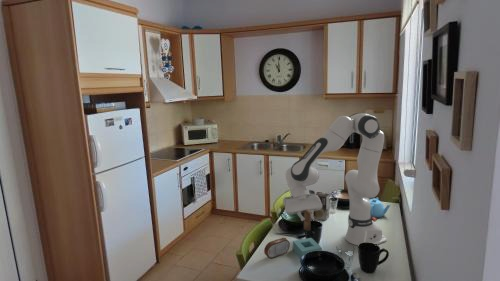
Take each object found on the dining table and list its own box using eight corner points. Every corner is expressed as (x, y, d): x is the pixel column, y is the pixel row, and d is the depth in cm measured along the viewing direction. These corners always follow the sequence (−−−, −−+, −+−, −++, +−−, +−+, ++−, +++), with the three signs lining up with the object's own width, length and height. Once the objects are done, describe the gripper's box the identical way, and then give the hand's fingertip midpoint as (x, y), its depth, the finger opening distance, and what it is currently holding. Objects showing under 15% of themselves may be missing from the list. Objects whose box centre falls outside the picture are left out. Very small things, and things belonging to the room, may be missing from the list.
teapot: (357, 210, 218) (357, 195, 216) (377, 208, 221) (377, 193, 219) (369, 219, 203) (370, 204, 201) (390, 217, 206) (391, 202, 204)
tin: (287, 249, 170) (287, 235, 168) (290, 252, 167) (290, 237, 166) (263, 258, 162) (263, 243, 161) (267, 260, 160) (267, 245, 158)
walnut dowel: (308, 227, 166) (308, 209, 164) (311, 229, 162) (312, 211, 160) (302, 228, 165) (302, 210, 163) (305, 231, 161) (306, 212, 159)
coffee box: (329, 217, 208) (330, 193, 205) (326, 220, 203) (326, 197, 200) (316, 214, 213) (316, 191, 210) (312, 217, 208) (313, 194, 205)
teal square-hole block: (311, 246, 173) (311, 237, 172) (321, 256, 162) (321, 247, 161) (293, 249, 170) (293, 241, 169) (302, 260, 159) (302, 251, 158)
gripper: (283, 195, 164) (291, 220, 156) (318, 190, 169) (327, 214, 162) (280, 200, 169) (287, 225, 161) (314, 195, 175) (322, 219, 167)
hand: (307, 219), depth 162 cm, fingers closed on walnut dowel, 3 cm apart
